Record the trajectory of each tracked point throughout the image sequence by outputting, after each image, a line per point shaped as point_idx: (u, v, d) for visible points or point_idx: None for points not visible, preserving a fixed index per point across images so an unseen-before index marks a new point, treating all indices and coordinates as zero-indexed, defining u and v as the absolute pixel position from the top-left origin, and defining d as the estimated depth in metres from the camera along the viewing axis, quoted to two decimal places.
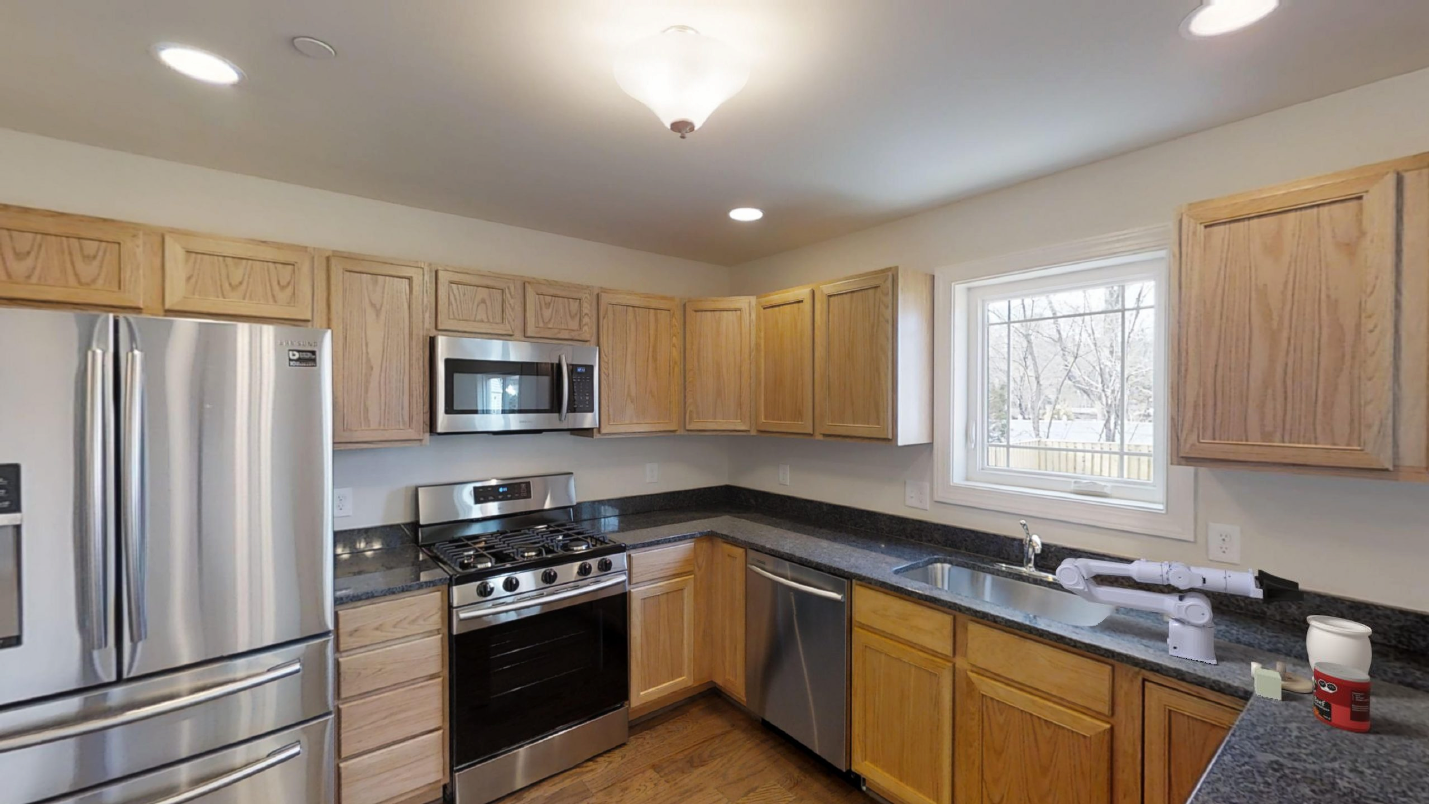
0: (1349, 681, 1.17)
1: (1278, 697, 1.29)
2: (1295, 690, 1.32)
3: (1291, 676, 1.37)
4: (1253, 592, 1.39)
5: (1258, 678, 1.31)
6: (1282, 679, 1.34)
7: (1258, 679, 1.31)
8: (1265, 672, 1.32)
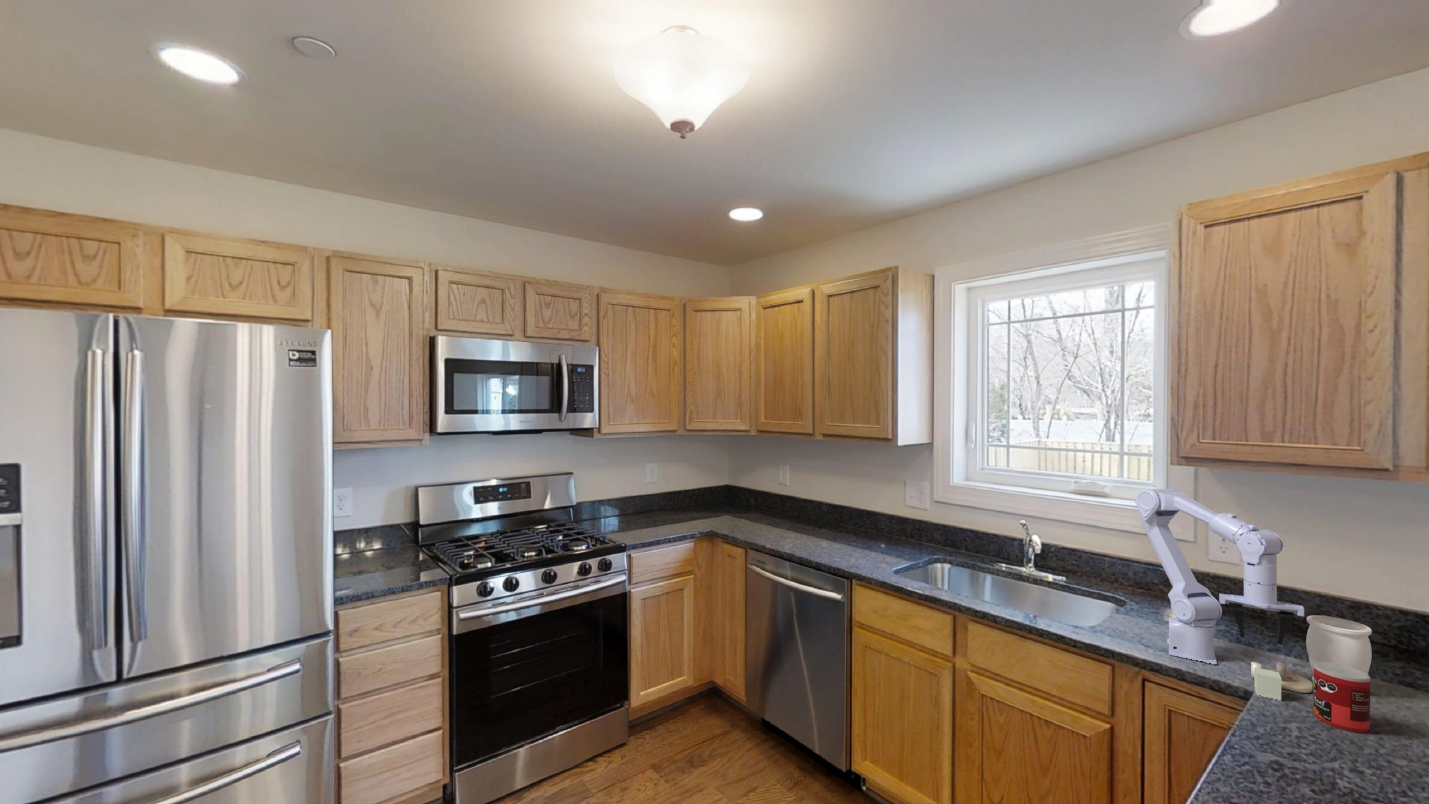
0: (1349, 681, 1.17)
1: (1278, 697, 1.29)
2: (1295, 690, 1.32)
3: (1291, 676, 1.37)
4: (1219, 595, 1.41)
5: (1258, 678, 1.31)
6: (1282, 679, 1.34)
7: (1258, 679, 1.31)
8: (1265, 672, 1.32)
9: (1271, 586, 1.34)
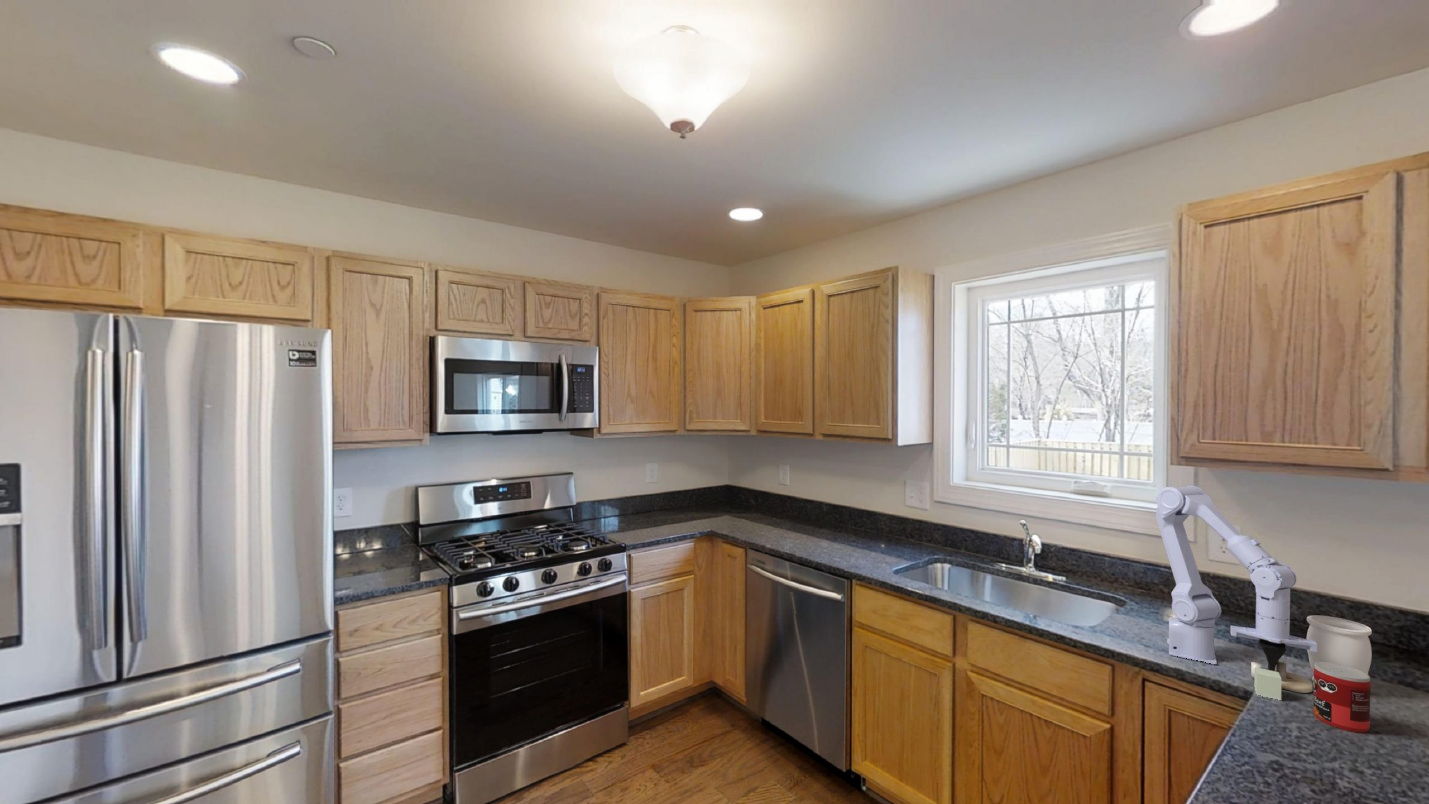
0: (1349, 681, 1.17)
1: (1278, 697, 1.29)
2: (1295, 690, 1.32)
3: (1291, 676, 1.37)
4: None
5: (1258, 678, 1.31)
6: (1282, 679, 1.34)
7: (1258, 679, 1.31)
8: (1265, 672, 1.32)
9: (1284, 621, 1.33)
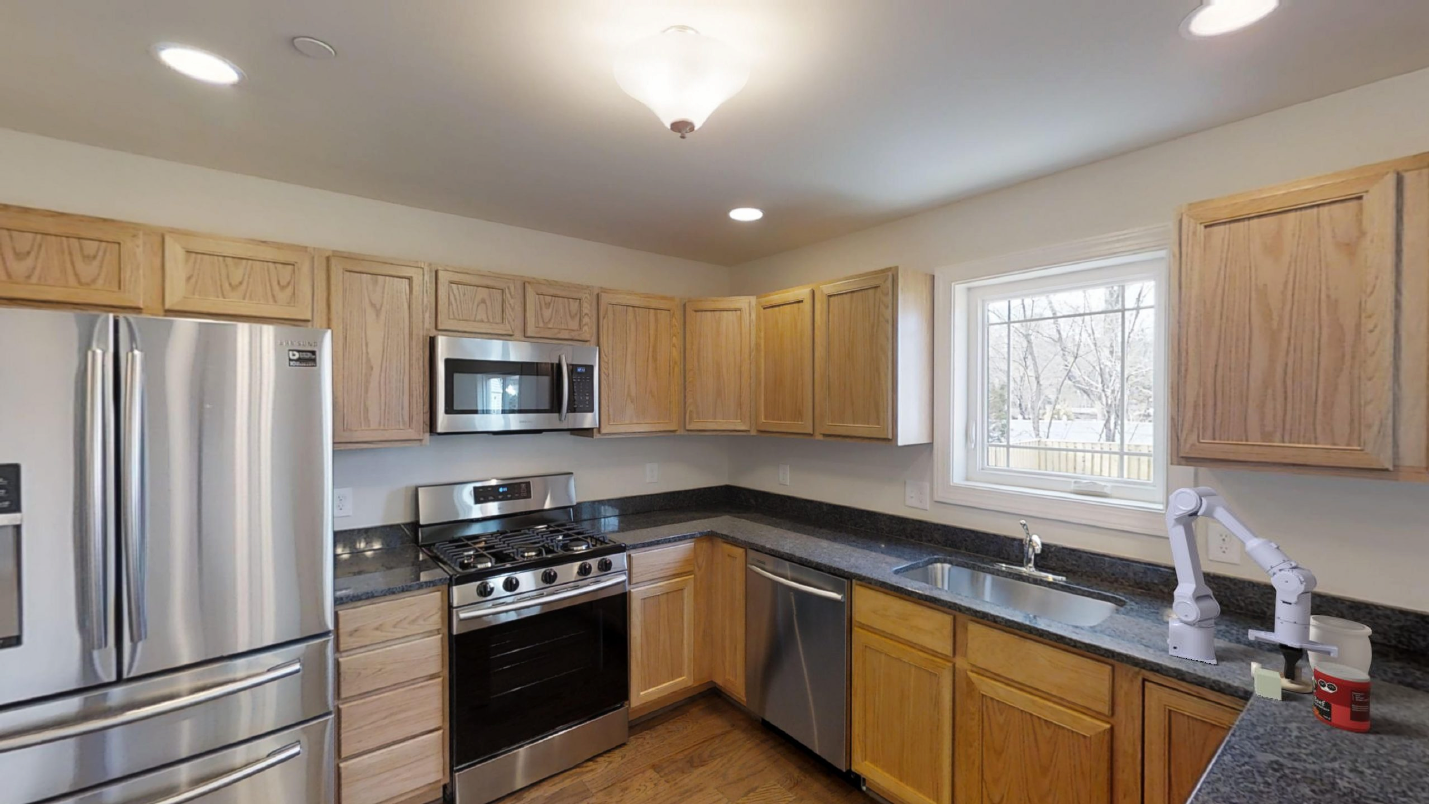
0: (1349, 681, 1.17)
1: (1278, 697, 1.29)
2: (1310, 690, 1.32)
3: None
4: (1249, 631, 1.38)
5: (1258, 678, 1.31)
6: (1301, 683, 1.32)
7: (1258, 679, 1.31)
8: (1265, 672, 1.32)
9: (1304, 625, 1.31)
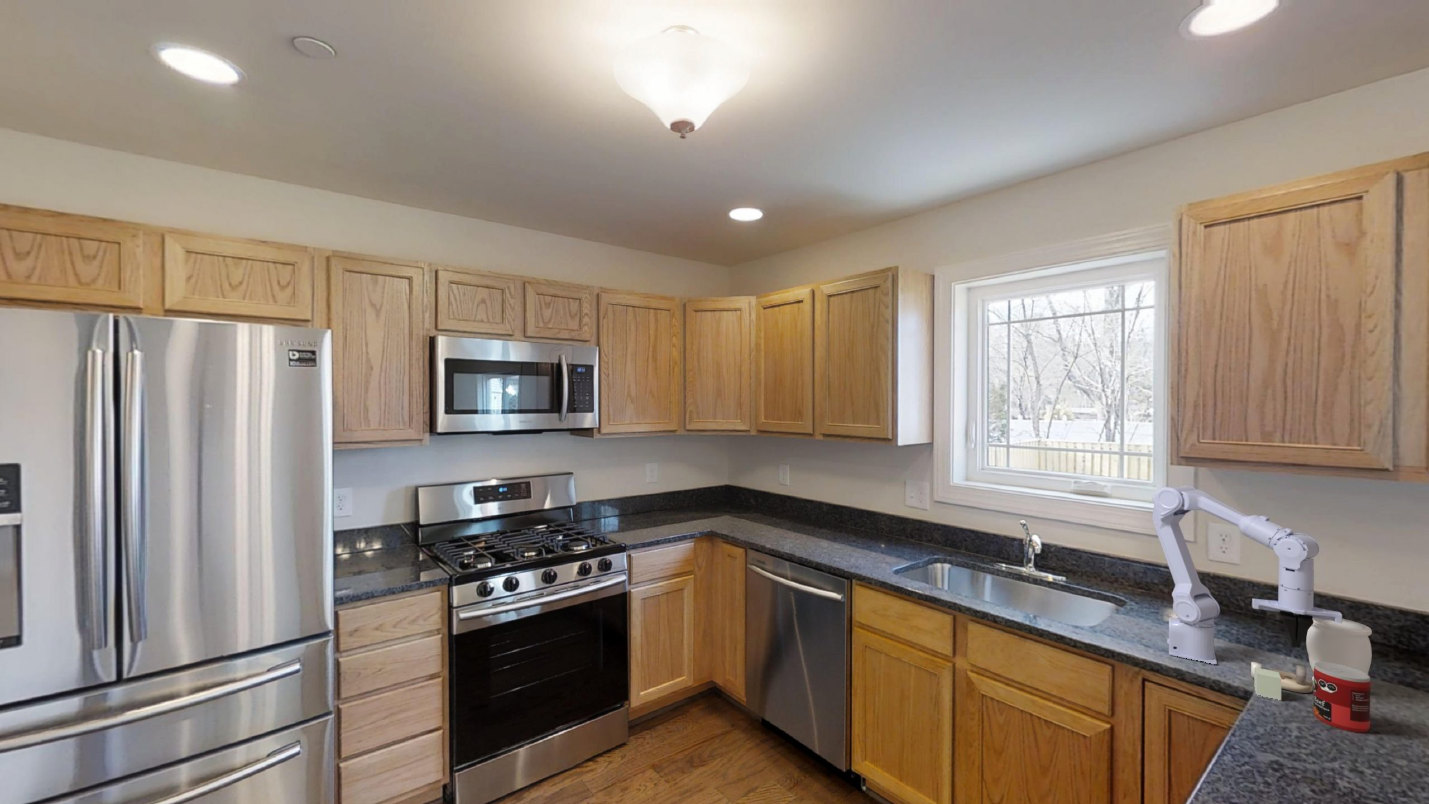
0: (1349, 681, 1.17)
1: (1278, 697, 1.29)
2: None
3: (1282, 675, 1.37)
4: (1252, 600, 1.38)
5: (1258, 678, 1.31)
6: (1306, 683, 1.32)
7: (1258, 679, 1.31)
8: (1265, 672, 1.32)
9: (1308, 592, 1.30)
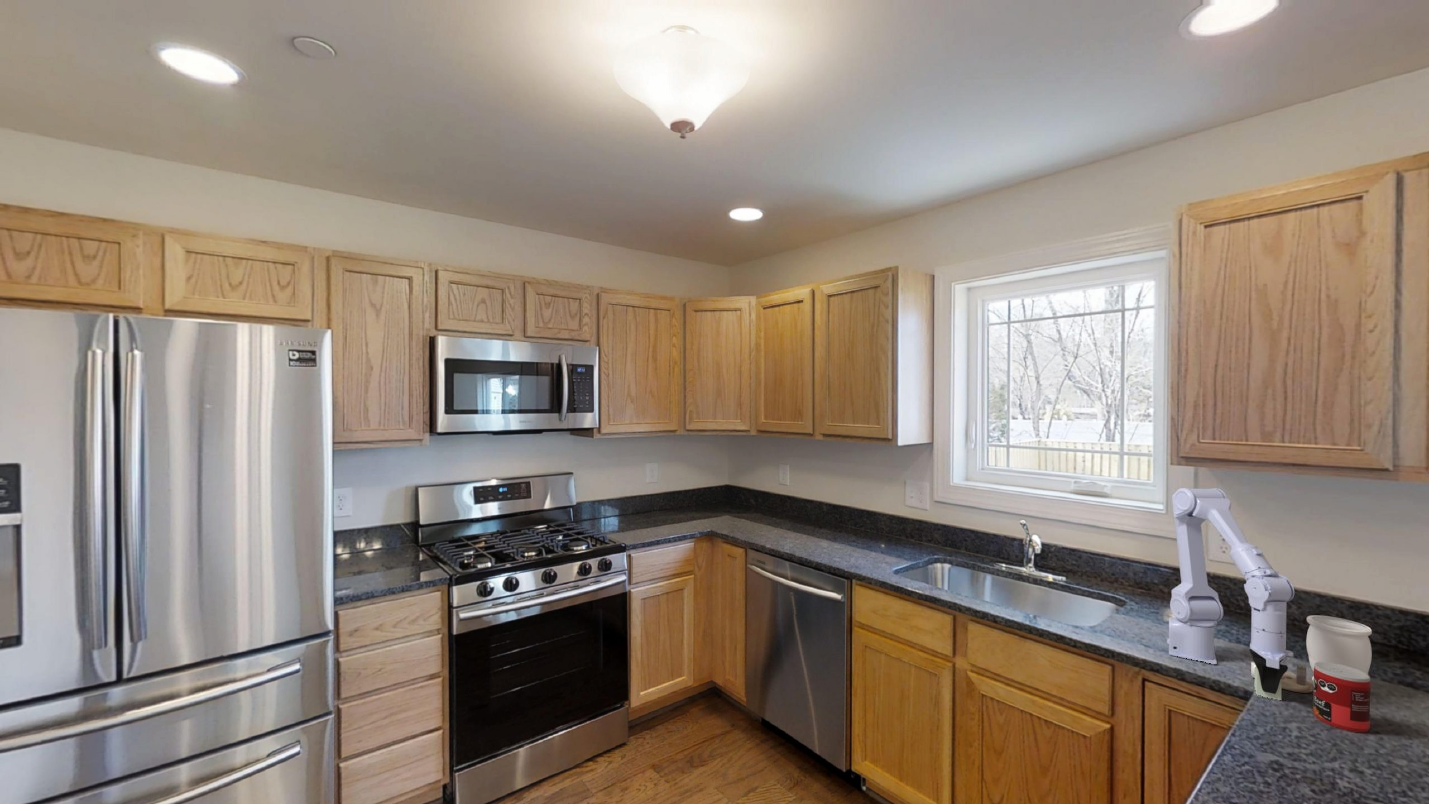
0: (1349, 681, 1.17)
1: (1278, 697, 1.29)
2: None
3: None
4: (1274, 660, 1.26)
5: (1258, 678, 1.31)
6: (1306, 683, 1.32)
7: (1258, 679, 1.31)
8: None
9: None
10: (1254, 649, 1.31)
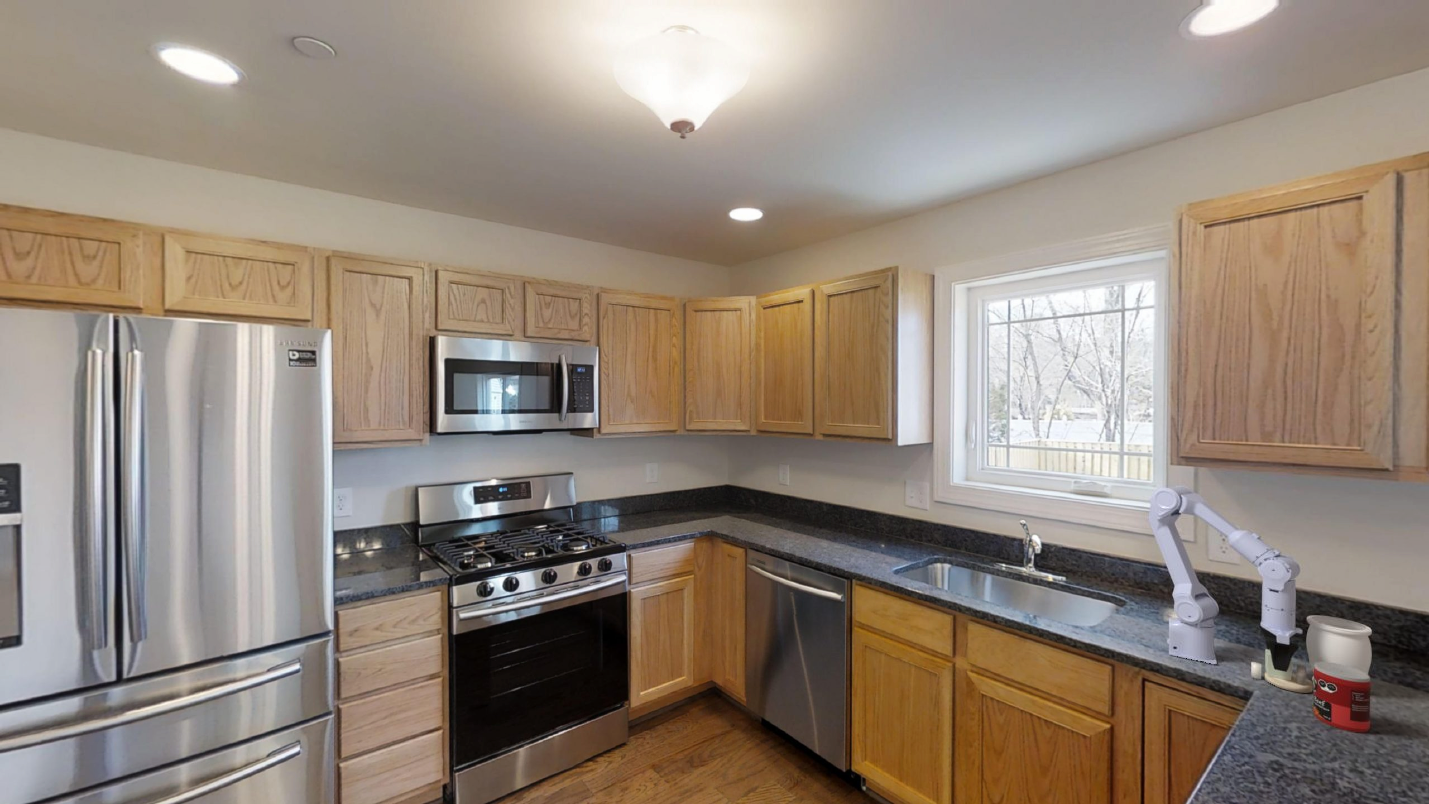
0: (1349, 681, 1.17)
1: (1288, 677, 1.35)
2: None
3: None
4: (1284, 636, 1.31)
5: (1269, 659, 1.37)
6: (1306, 683, 1.32)
7: (1269, 660, 1.37)
8: None
9: None
10: (1265, 627, 1.37)
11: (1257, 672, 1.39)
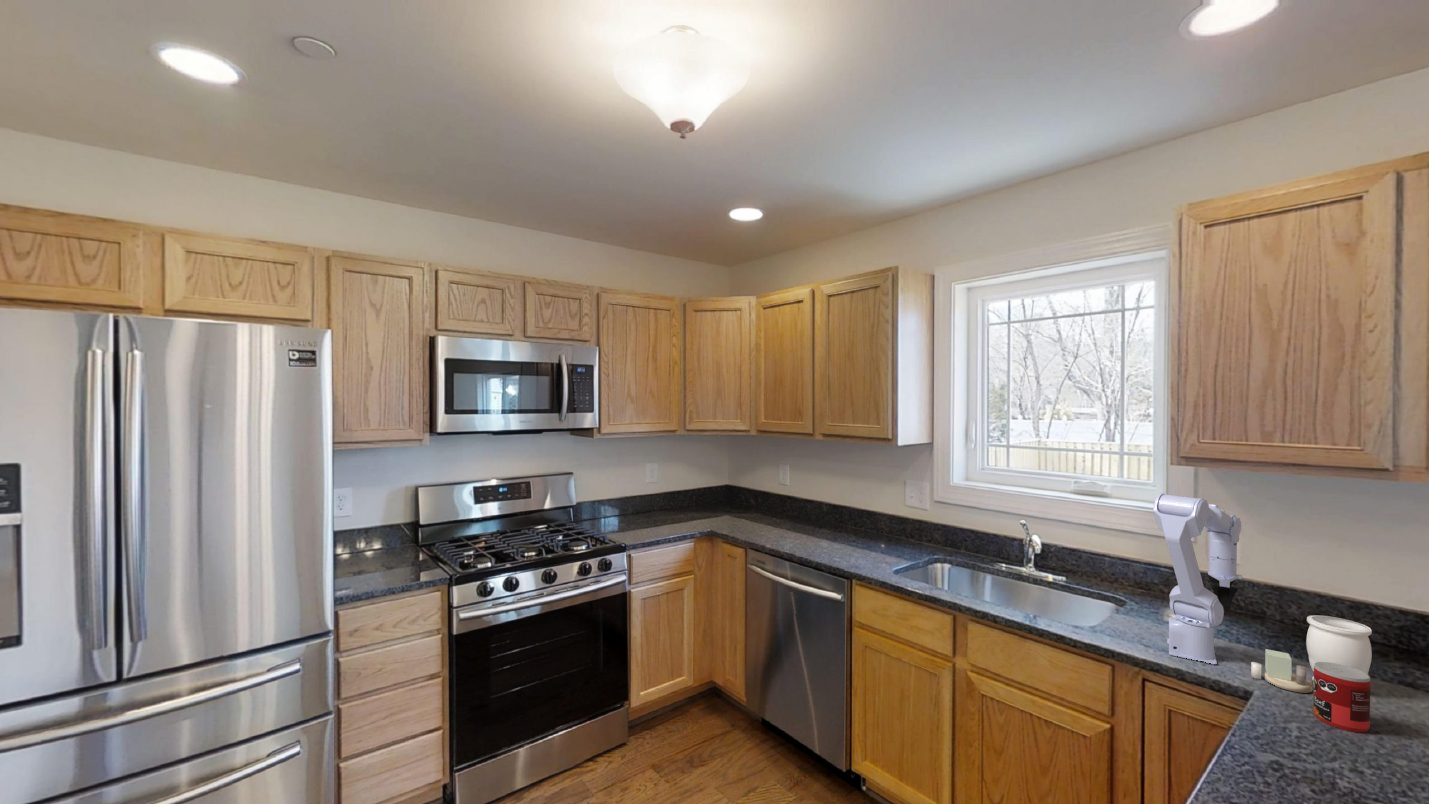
0: (1349, 681, 1.17)
1: (1288, 677, 1.35)
2: None
3: None
4: (1225, 580, 1.53)
5: (1269, 659, 1.37)
6: (1306, 683, 1.32)
7: (1269, 660, 1.37)
8: (1276, 653, 1.37)
9: None
10: (1211, 574, 1.59)
11: (1257, 672, 1.39)
